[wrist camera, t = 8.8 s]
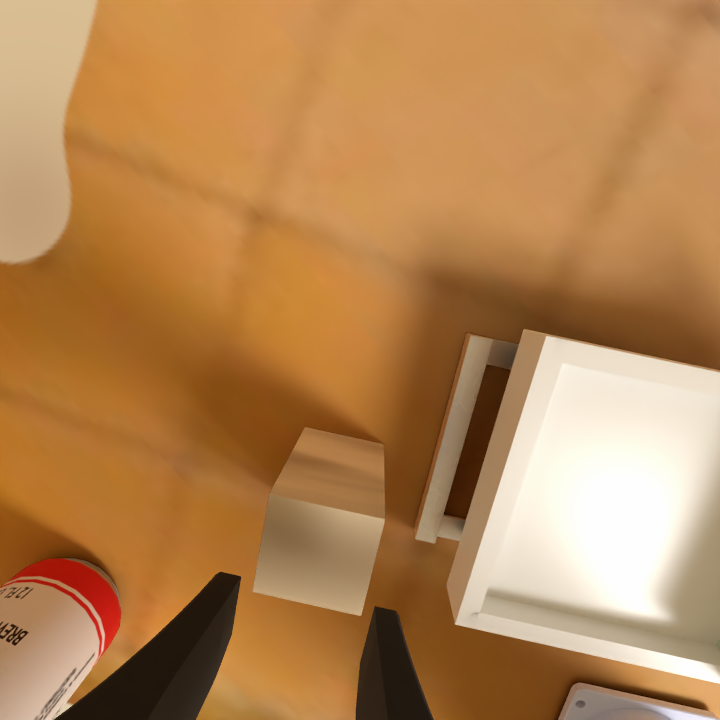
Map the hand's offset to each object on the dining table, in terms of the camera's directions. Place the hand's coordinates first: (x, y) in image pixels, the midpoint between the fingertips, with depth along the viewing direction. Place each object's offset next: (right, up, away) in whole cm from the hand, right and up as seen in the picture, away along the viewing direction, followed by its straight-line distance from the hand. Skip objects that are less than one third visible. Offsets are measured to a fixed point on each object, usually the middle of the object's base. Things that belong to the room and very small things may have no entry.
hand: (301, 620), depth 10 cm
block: (+1, +2, +8) cm, 8 cm away
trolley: (+13, +2, +7) cm, 15 cm away
